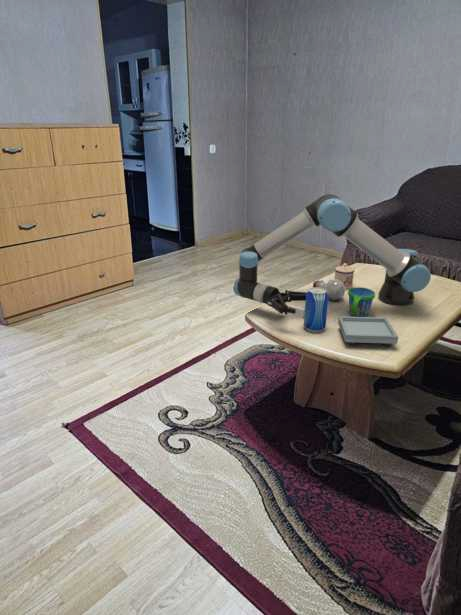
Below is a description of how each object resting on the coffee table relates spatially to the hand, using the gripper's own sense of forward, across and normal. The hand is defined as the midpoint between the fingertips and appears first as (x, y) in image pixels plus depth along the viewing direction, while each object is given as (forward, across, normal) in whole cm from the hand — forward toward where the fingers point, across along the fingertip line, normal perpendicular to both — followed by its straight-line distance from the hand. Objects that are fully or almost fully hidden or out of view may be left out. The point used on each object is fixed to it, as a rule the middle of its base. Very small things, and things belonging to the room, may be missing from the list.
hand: (313, 307), depth 166 cm
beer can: (+1, 0, -9) cm, 9 cm away
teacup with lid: (-11, -52, -9) cm, 54 cm away
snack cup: (+9, -24, -9) cm, 27 cm away
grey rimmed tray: (+20, -5, -9) cm, 22 cm away
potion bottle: (-10, -33, -9) cm, 36 cm away
